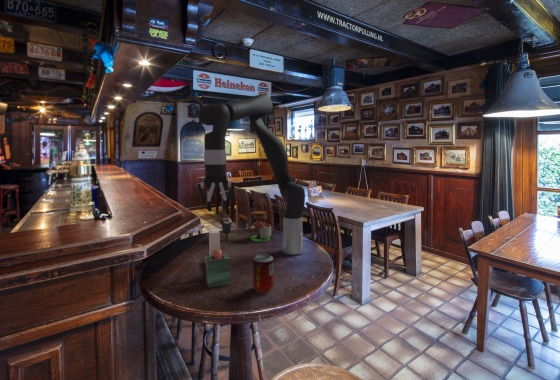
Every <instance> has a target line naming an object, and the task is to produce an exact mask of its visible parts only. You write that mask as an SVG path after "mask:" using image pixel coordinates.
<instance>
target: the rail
mask: <svg viewBox="0 0 560 380" xmlns="http://www.w3.org/2000/svg"><path fill="white" fill-rule="evenodd" d="M204 264H205V278H206V280H205V281H206V285H207V287H208V289H210V288H216V287H223V286H229V285H231V283H232V281H231V280H232V279H231V277H232V276H231V275H232V274H231V257H230V256H229V254H228V253H223V254H222V259H216V260H214V255H213V256H210V255H207V256H204Z"/></svg>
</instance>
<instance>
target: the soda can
mask: <svg viewBox="0 0 560 380" xmlns="http://www.w3.org/2000/svg"><path fill="white" fill-rule="evenodd" d="M252 261H253V262H252V264H253V268H252V269H253V270H252V271H253V274H252V275H253V277H252V279H253V284H252V285H253V288H254V289H255V292H256V293H259V294H268V293H271V292H272V289H273V287H274V257H273V256H272V255H270V254H269V253H259V254H257V255H255V256H254V257H253V259H252Z"/></svg>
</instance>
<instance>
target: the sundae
mask: <svg viewBox="0 0 560 380" xmlns="http://www.w3.org/2000/svg"><path fill="white" fill-rule="evenodd" d="M230 214H231V212H228V214H227V215H225V216H224V217H223V218H222V219H220V222H219V224H221V229H222V232H223V234H225V238H223V239H222V241H223V242H225V243H226V242H231V241H232V238H229V234H230V233H231V230H232V224H233V221H232V219H231V217H230V216H229V215H230Z"/></svg>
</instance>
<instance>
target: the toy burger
mask: <svg viewBox="0 0 560 380" xmlns="http://www.w3.org/2000/svg"><path fill="white" fill-rule="evenodd" d="M267 213H268V212H267V211H264V210H255V211H254V212H253V213H252V214H253V215H252V216H253V217H252V219H253V220H257V221H256V222H255V223H254V224H253V227H254V230H256V232H255V235H252V236H250V241H252V242H257V243H259V242H260V243H261V242H262V243H263V242H267V241H269V240H271V239H270V237H271V236H272V224H270V223H268V224H269V226H265V224H264V222H263V220H267V219H268V217H267V216H268V215H267Z"/></svg>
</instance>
